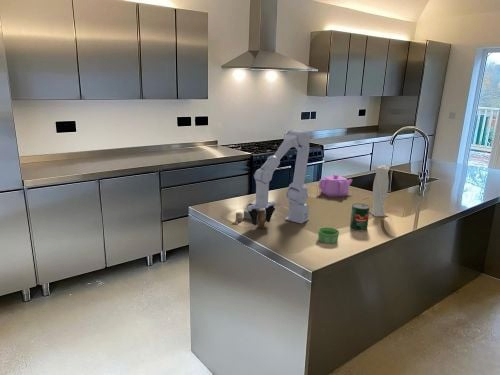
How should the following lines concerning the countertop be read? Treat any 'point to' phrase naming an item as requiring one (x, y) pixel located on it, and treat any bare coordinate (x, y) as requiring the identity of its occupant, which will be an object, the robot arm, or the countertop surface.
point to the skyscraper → (380, 190)
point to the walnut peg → (261, 218)
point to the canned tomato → (359, 217)
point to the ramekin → (328, 235)
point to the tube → (252, 202)
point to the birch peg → (239, 216)
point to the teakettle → (334, 186)
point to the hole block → (247, 216)
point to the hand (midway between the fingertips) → (261, 223)
